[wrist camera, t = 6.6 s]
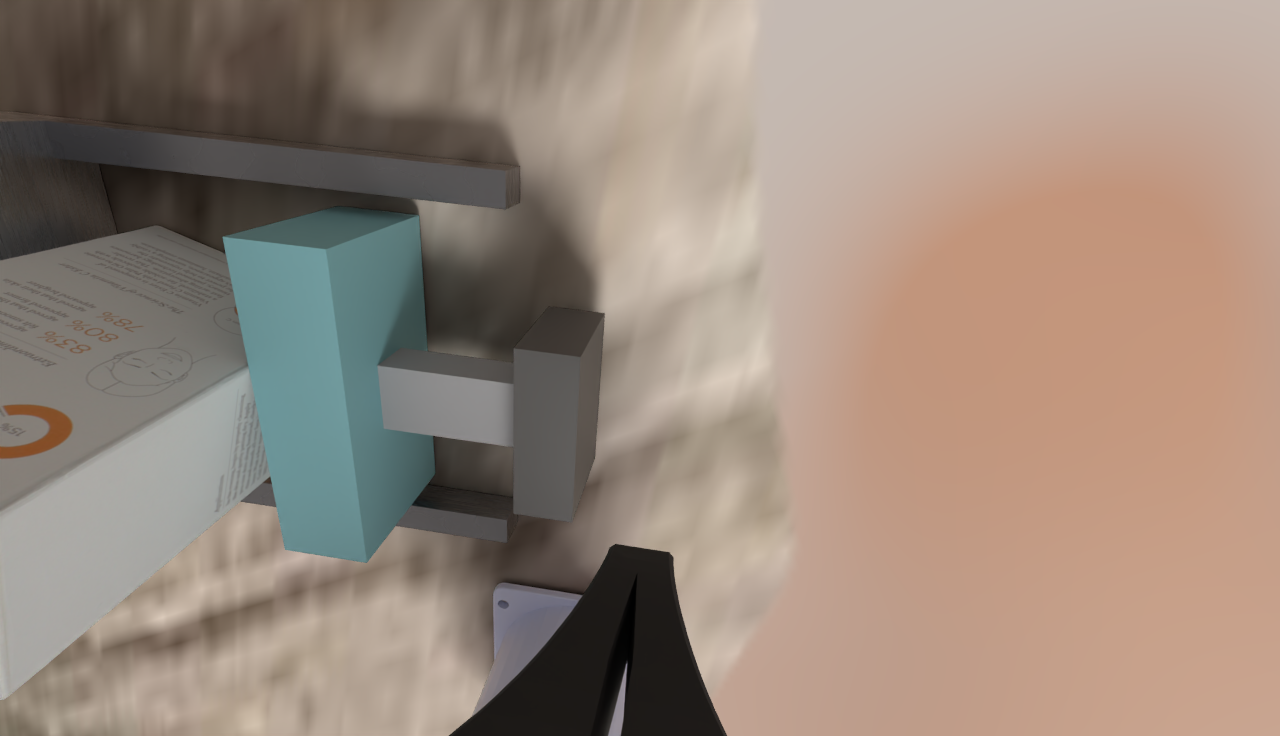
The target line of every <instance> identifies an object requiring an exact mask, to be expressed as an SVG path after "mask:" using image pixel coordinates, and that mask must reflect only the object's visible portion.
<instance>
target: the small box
mask: <svg viewBox="0 0 1280 736" xmlns="http://www.w3.org/2000/svg"><path fill="white" fill-rule="evenodd" d="M269 477H270V472H269V467H268V462H267V457H266V452H265V447H264V442H263V437H262V432H261V427H260V422H259V417H258V412H257V407H256V402H255V397H254V392H253V387H252V382H251V377H250V372H249V367H248V362H247V357H246V352H245V347H244V342H243V337H242V332H241V327H240V322H239V317H238V312H237V307H236V302H235V297H234V292H233V287H232V282H231V277H230V272H229V267H228V262H227V257H226V254H225V253H223V252H220V251H218V250H215V249H213V248H211V247H208V246H206V245H203V244H201V243H199V242H196V241H194V240H192V239H189V238H187V237H185V236H182V235H180V234H178V233H175V232H173V231H170V230H168V229H166V228H163V227H161V226H157V225H155V226H151V227H146V228H143V229H139V230H134V231H130V232H125V233H121V234H117V235H112V236H107V237H102V238H98V239H93V240H89V241H85V242H81V243H76V244H72V245H68V246H63V247H59V248H54V249H50V250H46V251H41V252H37V253H32V254H28V255H23V256H19V257H14V258H9V259H5V260H0V700H3V699H5V698H7V697H8V696H9V695H11V694H12V693H13V692H14V691H16V690H17V689H18V688H19V687H20V686H22V685H23V684H24V683H25V682H27V681H28V680H29V679H30V678H31V677H33V676H34V675H35V674H36V673H37V672H39V671H40V670H41V669H42V668H43V667H44V666H46V665H47V664H48V663H49V662H50V661H52V660H53V659H54V658H55V657H56V656H57V655H59V654H60V653H61V652H62V651H63V650H64V649H66V648H67V647H68V646H69V645H70V644H71V643H73V642H74V641H75V640H76V639H77V638H79V637H80V636H81V635H82V634H83V633H85V632H86V631H87V630H88V629H89V628H91V627H92V626H93V625H94V624H95V623H96V622H98V621H99V620H100V619H101V618H102V617H104V616H105V615H106V614H107V613H108V612H110V611H111V610H112V609H113V608H114V607H116V606H117V605H118V604H119V603H120V602H122V601H123V600H124V599H125V598H126V597H127V596H129V595H130V594H131V593H132V592H133V591H135V590H136V589H137V588H138V587H139V586H140V585H142V584H143V583H144V582H145V581H146V580H148V579H149V578H150V577H151V576H152V575H153V574H154V573H156V572H157V571H158V570H159V569H160V568H162V567H163V566H164V565H165V564H167V563H168V562H169V561H170V560H171V559H172V558H174V557H175V556H176V555H177V554H178V553H179V552H181V551H182V550H183V549H184V548H185V547H187V546H188V545H189V544H190V543H191V542H193V541H194V540H195V539H196V538H197V537H198V536H200V535H201V534H202V533H203V532H204V531H206V530H207V529H208V528H209V527H210V526H212V525H213V524H214V523H215V522H216V521H218V520H219V519H220V518H221V517H222V516H223V515H225V514H226V513H227V512H228V511H229V510H231V509H232V508H233V507H234V506H235V505H237V504H238V503H239V502H240V501H241V500H243V499H244V498H245V497H246V496H248V495H249V494H250V493H251V492H252V491H253V490H255V489H256V488H257V487H258V486H259V485H260V484H262V483H263V482H264V481H265V480H266V479H268V478H269Z"/></svg>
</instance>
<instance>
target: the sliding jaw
mask: <svg viewBox="0 0 1280 736" xmlns="http://www.w3.org/2000/svg"><path fill="white" fill-rule="evenodd" d="M222 238H223V243H224V248H225V253H226V257H227V262H228V267H229V272H230V277H231V282H232V287H233V292H234V297H235V302H236V307H237V312H238V317H239V322H240V327H241V332H242V337H243V342H244V347H245V352H246V357H247V362H248V367H249V372H250V377H251V382H252V387H253V392H254V397H255V402H256V407H257V412H258V417H259V422H260V427H261V432H262V437H263V442H264V447H265V452H266V457H267V462H268V467H269V472H270V477H271V482H272V487H273V492H274V497H275V502H276V507H277V512H278V517H279V521H280V526H281V531H282V536H283V541H284V546H285V550H290V551H297V552H303V553H309V554H315V555H321V556H327V557H334V558H340V559H346V560H352V561H358V562H364V563H367V562H368V561H369V559H370V558H371V557H372V555H373V554H374V553H375V552H376V550H377V549H378V548H379V546H380V545H381V544H382V542H383V541H384V540H385V539H386V537H387V536H388V535H389V533H390V532H391V531H392V530H393V528H394V527H395V526H396V524H397V523H398V522H399V520H400V519H401V518H402V517H403V515H404V514H405V513H406V511H407V510H408V509H409V507H410V506H411V505H412V504H413V502H414V501H415V500H416V498H417V497H418V496H419V494H420V493H421V492H422V491H423V489H424V488H425V487H426V485H427V484H428V483H429V481H430V480H431V479H432V478H433V476H434V475H435V460H434V444H433V436H438V437H445V438H452V439H459V440H466V441H473V442H480V443H487V444H494V445H501V446H508V447H513V514H519V515H526V516H532V517H539V518H545V519H552V520H559V521H565V522H572V521H573V519H574V516H575V513H576V510H577V507H578V504H579V502H580V499H581V496H582V493H583V490H584V487H585V485H586V482H587V479H588V476H589V473H590V470H591V468H592V465H593V462H594V459H595V450H596V435H597V420H598V406H599V391H600V376H601V361H602V346H603V332H604V317H605V313H598V312H590V311H582V310H574V309H566V308H558V307H550V306H549V307H548V308H547V309H546V311H545V312H544V313H543V314H542V315H541V316H540V318H539V319H538V320H537V321H536V322H535V324H534V325H533V326H532V327H531V328H530V329H529V331H528V332H527V333H526V334H525V335H524V337H523V338H522V339H521V340H520V341H519V342H518V344H517V345H516V346H515V347H514V363H512V362H504V361H497V360H489V359H482V358H474V357H467V356H459V355H452V354H444V353H437V352H429V351H428V350H427V334H426V318H425V302H424V287H423V271H422V255H421V240H420V224H419V215H413V214H404V213H395V212H387V211H378V210H369V209H361V208H352V207H343V206H336V207H333V208H329V209H325V210H321V211H318V212H314V213H310V214H306V215H303V216H299V217H295V218H291V219H287V220H284V221H280V222H276V223H272V224H269V225H265V226H261V227H257V228H254V229H250V230H246V231H242V232H239V233H235V234H231V235H227V236H223V237H222Z"/></svg>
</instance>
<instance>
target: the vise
mask: <svg viewBox="0 0 1280 736" xmlns="http://www.w3.org/2000/svg"><path fill="white" fill-rule="evenodd" d="M98 163H102V164H111V165H119V166H128V167H137V168H146V169H155V170H163V171H172V172H181V173H190V174H199V175H207V176H216V177H225V178H234V179H243V180H251V181H260V182H269V183H278V184H287V185H295V186H304V187H313V188H322V189H331V190H339V191H348V192H357V193H366V194H375V195H384V196H392V197H401V198H410V199H419V200H428V201H436V202H445V203H454V204H463V205H472V206H480V207H489V208H498V209H507V208H509V207H511V206H514V205H516V204H518V203H520V166H512V165H502V164H493V163H484V162H475V161H465V160H456V159H447V158H437V157H428V156H419V155H410V154H400V153H391V152H382V151H373V150H363V149H354V148H345V147H335V146H326V145H317V144H308V143H298V142H289V141H280V140H270V139H261V138H252V137H243V136H233V135H224V134H215V133H206V132H196V131H187V130H178V129H168V128H159V127H150V126H141V125H131V124H122V123H113V122H104V121H94V120H85V119H76V118H66V117H57V116H48V115H39V114H29V113H20V112H11V111H7V112H0V260H5V259H9V258H14V257H19V256H23V255H28V254H32V253H37V252H41V251H46V250H50V249H54V248H59V247H63V246H68V245H72V244H76V243H81V242H85V241H89V240H93V239H98V238H102V237H107V236H112V235H117V230H116V226H115V223H114V219H113V215H112V212H111V208H110V204H109V201H108V197H107V193H106V190H105V186H104V182H103V179H102V175H101V171H100V168H99V164H98ZM241 502H247V503H254V504H260V505H266V506H273V507H276V502H275V497H274V492H273V487H272V482H271V477H269V478H268V479H266V480H265V481H264V482H263V483H262V484H260V485H259V486H258V487H257V488H256V489H255V490H253V491H252V492H251V493H250V494H249V495H248V496H246V497H245V498H244V499H243V500H241ZM517 522H518V514H513V498H512V497H505V496H499V495H492V494H485V493H479V492H472V491H465V490H459V489H452V488H446V487H439V486H432V485H426V487H425V488H424V489H423V491H422V492H421V493H420V494H419V496H418V497H417V498H416V500H415V501H414V502H413V504H412V505H411V506H410V507H409V509H408V510H407V511H406V513H405V514H404V515H403V517H402V518H401V519H400V520H399V522H398V523H397V524H396V526H401V527H407V528H413V529H420V530H426V531H433V532H439V533H445V534H452V535H458V536H465V537H471V538H477V539H484V540H490V541H497V542H503V543H507V542H508V540H509V538H510V536H511V534H512V532H513V530H514V528H515V526H516V524H517Z"/></svg>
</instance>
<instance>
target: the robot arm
mask: <svg viewBox="0 0 1280 736" xmlns="http://www.w3.org/2000/svg"><path fill="white" fill-rule="evenodd" d="M502 600H504V601H506V602H504V601H502ZM493 618H494V663H493V665H492V668H491V670H490V673H489V675H488V678H487V680H486V683H485V685H484V688H483V690H482V693H481V695H480V697H479V700H478V702H477V705H476V707H475V710H474V712H473V715H472V717H471V718H470V719H468V720H467V721H466V722H465V723H464V724H462V725H461V726H460V727H459V728H458V729H456V730H455V731H454V732H453V733H452V734H450V735H449V736H727V735H726V733H725V731H724V728H723V726H722V724H721V722H720V720H719V717H718V715H717V713H716V711H715V709H714V706H713V704H712V702H711V699H710V697H709V695H708V692H707V690H706V687H705V685H704V682H703V680H702V677H701V674H700V672H699V669H698V666H697V663H696V660H695V657H694V654H693V651H692V648H691V645H690V642H689V639H688V635H687V632H686V628H685V624H684V621H683V617H682V613H681V609H680V605H679V600H678V595H677V590H676V584H675V577H674V566H673V556H672V555H671V554H670V553H669V552H663V551H657V550H650V549H644V548H637V547H631V546H625V545H618V544H615V545H613V546H611V547H610V549H609V551H608V553H607V556H606V558H605V560H604V561H603V563H602V565H601V567H600V569H599V571H598V572H597V574H596V576H595V577H594V579H593V580H592V582H591V584H590V585H589V587H588V588H587V590H586V591H585V593H584V594H583V595H578V594H572V593H566V592H560V591H553V590H547V589H541V588H535V587H529V586H522V585H516V584H510V583H500V584H498V585H497V586H496V587H495V590H494V592H493Z"/></svg>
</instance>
